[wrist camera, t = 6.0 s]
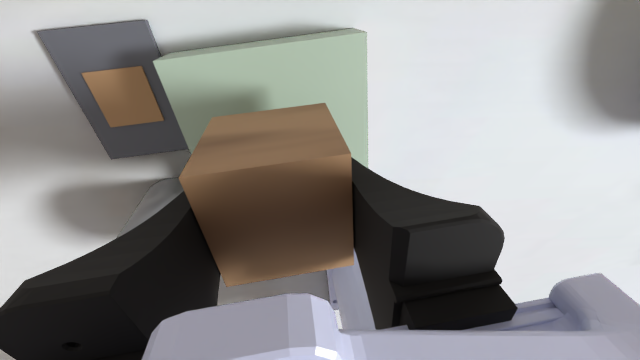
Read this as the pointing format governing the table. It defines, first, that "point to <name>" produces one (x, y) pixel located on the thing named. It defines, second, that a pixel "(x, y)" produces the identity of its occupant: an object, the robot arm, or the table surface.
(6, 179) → the table surface
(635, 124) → the table surface
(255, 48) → the sage slab
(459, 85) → the table surface
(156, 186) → the grey cylinder
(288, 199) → the walnut cube
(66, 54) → the card
